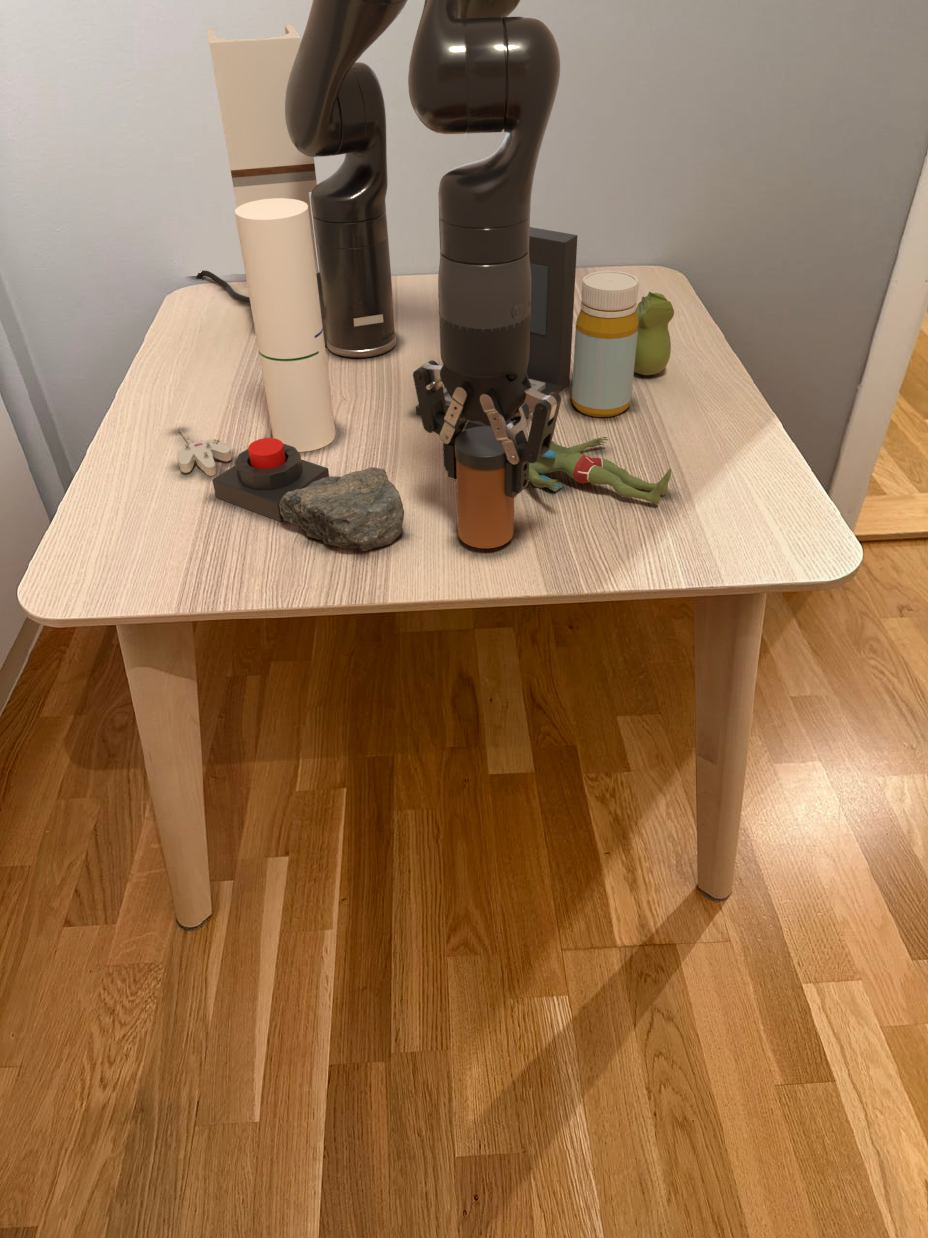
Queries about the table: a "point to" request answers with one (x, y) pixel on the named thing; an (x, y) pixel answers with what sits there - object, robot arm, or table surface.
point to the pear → (653, 334)
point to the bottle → (605, 343)
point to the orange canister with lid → (482, 489)
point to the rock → (348, 509)
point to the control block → (266, 482)
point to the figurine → (592, 472)
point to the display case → (260, 119)
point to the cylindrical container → (287, 320)
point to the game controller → (202, 455)
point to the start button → (266, 453)
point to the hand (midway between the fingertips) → (485, 483)
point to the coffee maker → (547, 313)
